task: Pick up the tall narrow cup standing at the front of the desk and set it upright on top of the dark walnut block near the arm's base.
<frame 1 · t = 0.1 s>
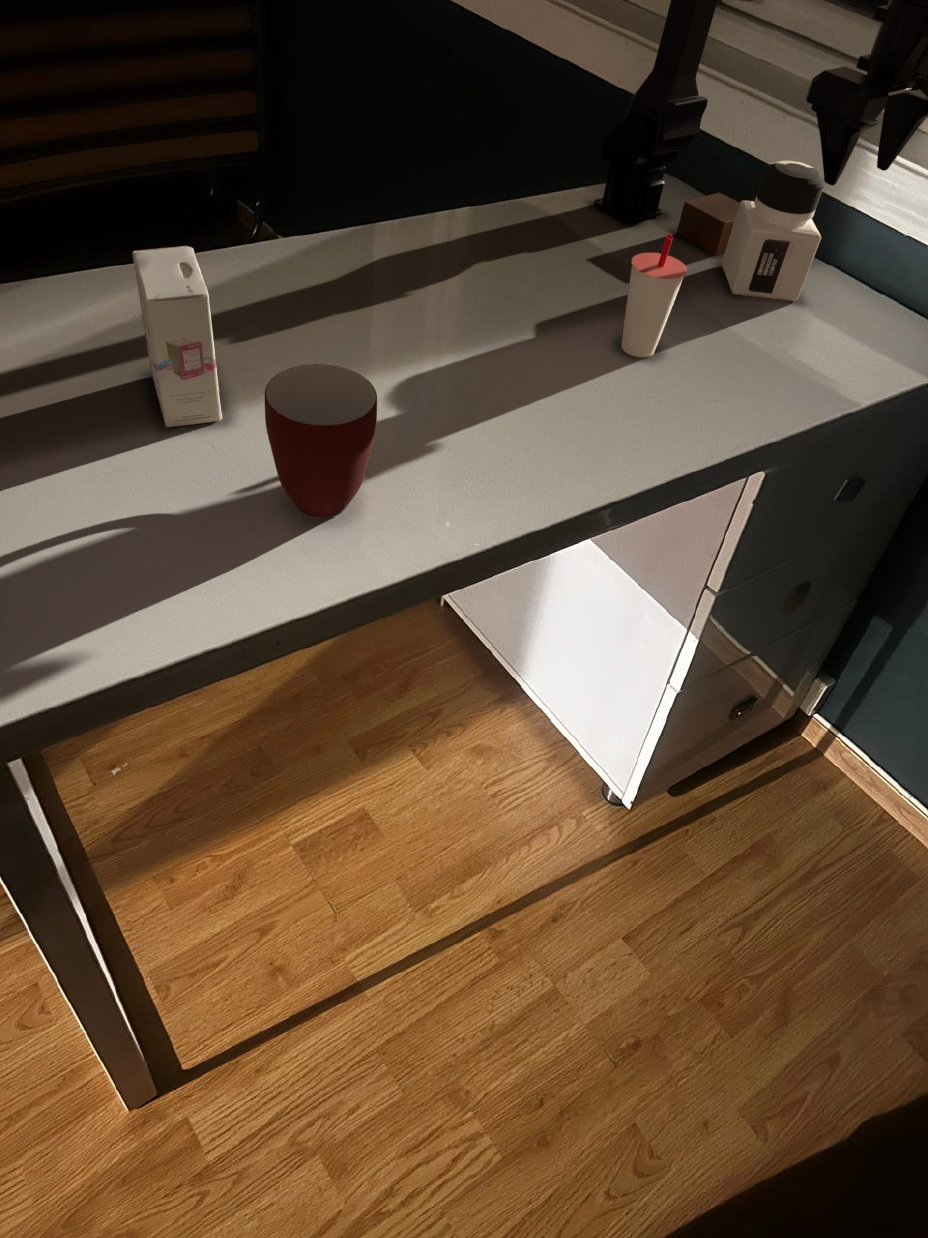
hand: (856, 176, 99), 15 cm above the table, tool pointing down, fingers open, 9 cm apart
cup: (637, 350, 100), on the table
walnut block: (712, 239, 120), on the table
container: (757, 284, 113), on the table
ink box: (185, 399, 85), on the table
mug: (310, 497, 78), on the table
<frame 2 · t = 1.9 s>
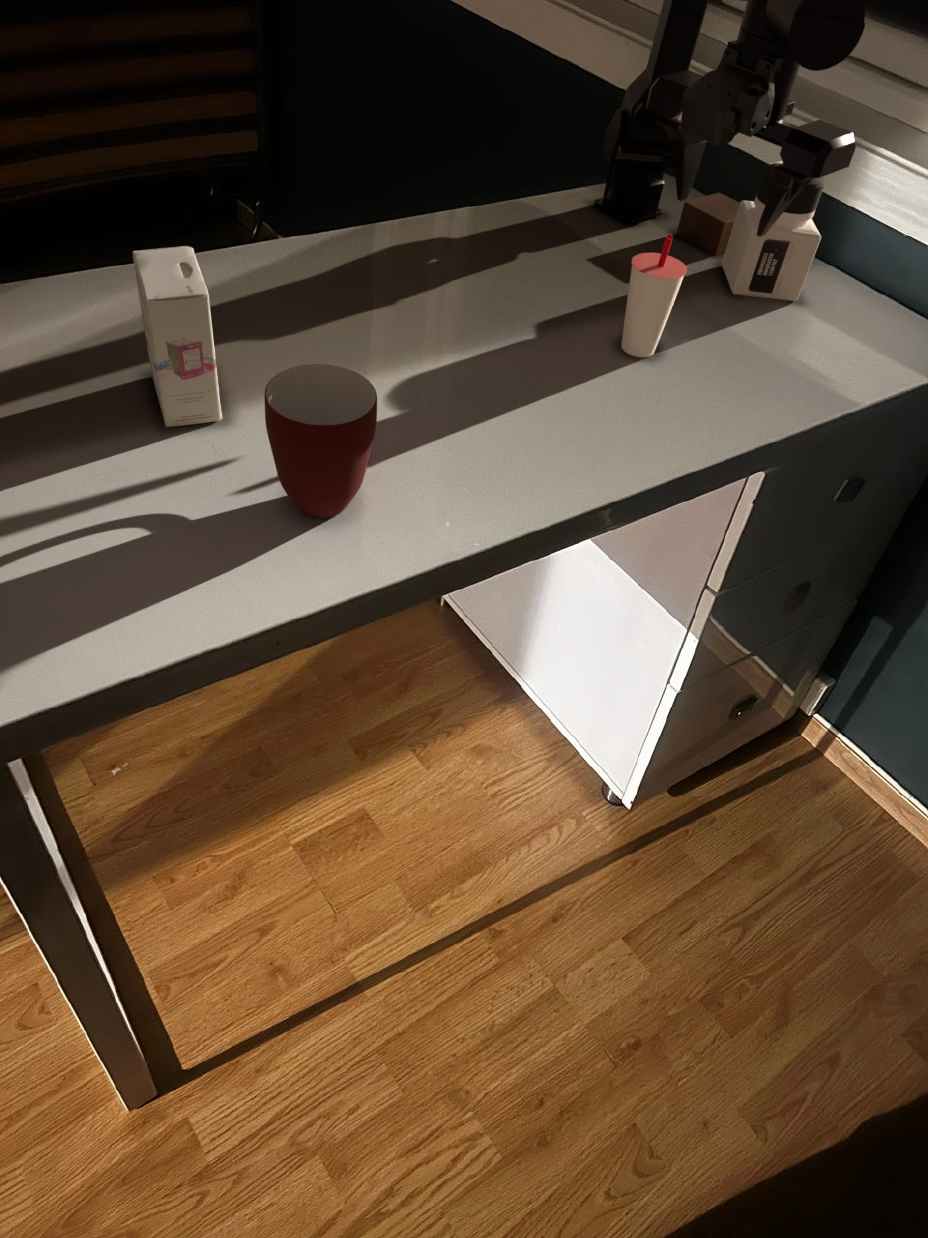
hand: (720, 216, 93), 13 cm above the table, tool pointing down, fingers open, 9 cm apart
nothing on the table moved.
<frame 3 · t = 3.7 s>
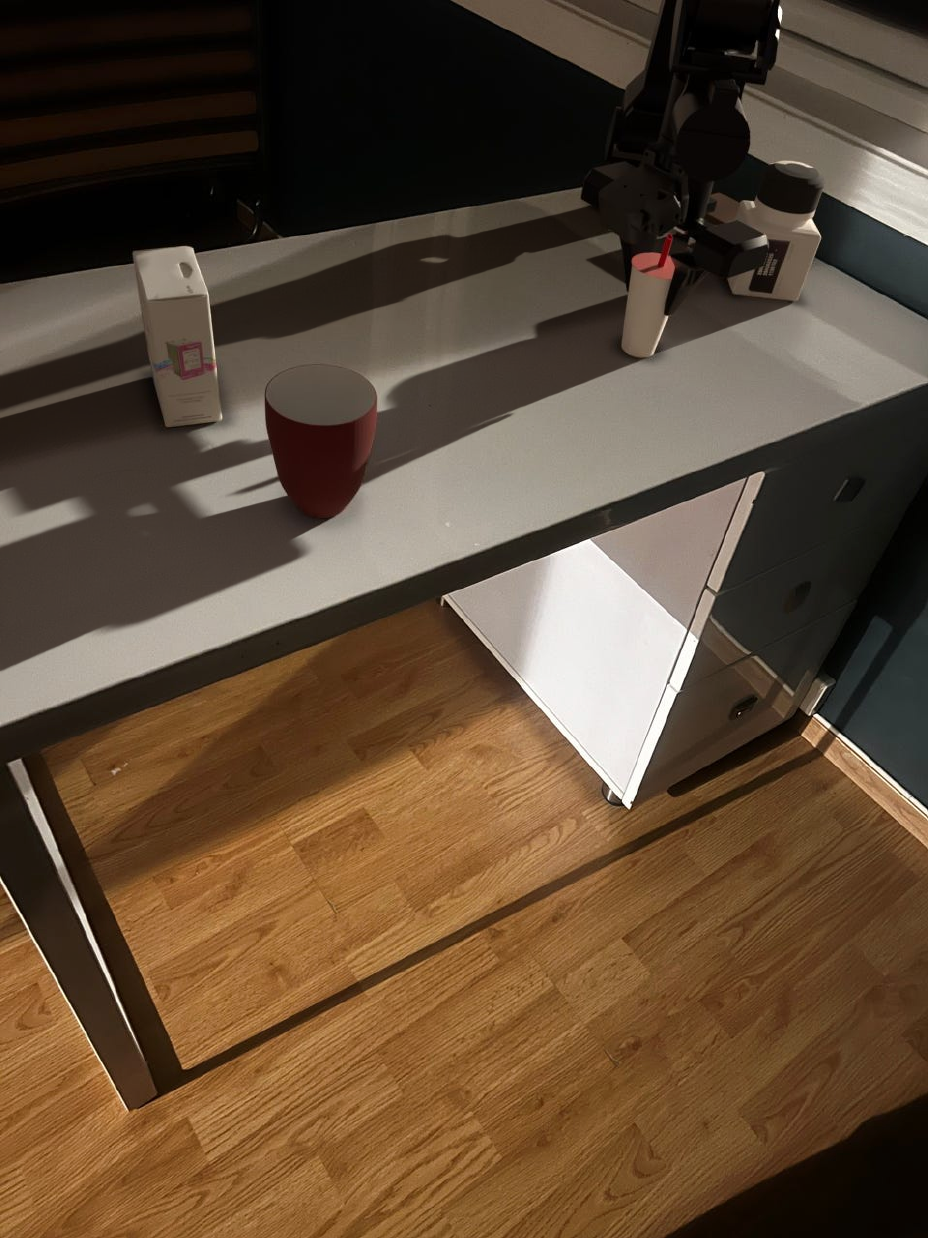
hand: (649, 302, 96), 5 cm above the table, tool pointing down, fingers closed on cup, 5 cm apart
cup: (637, 350, 100), on the table, touching gripper
everything else where it was.
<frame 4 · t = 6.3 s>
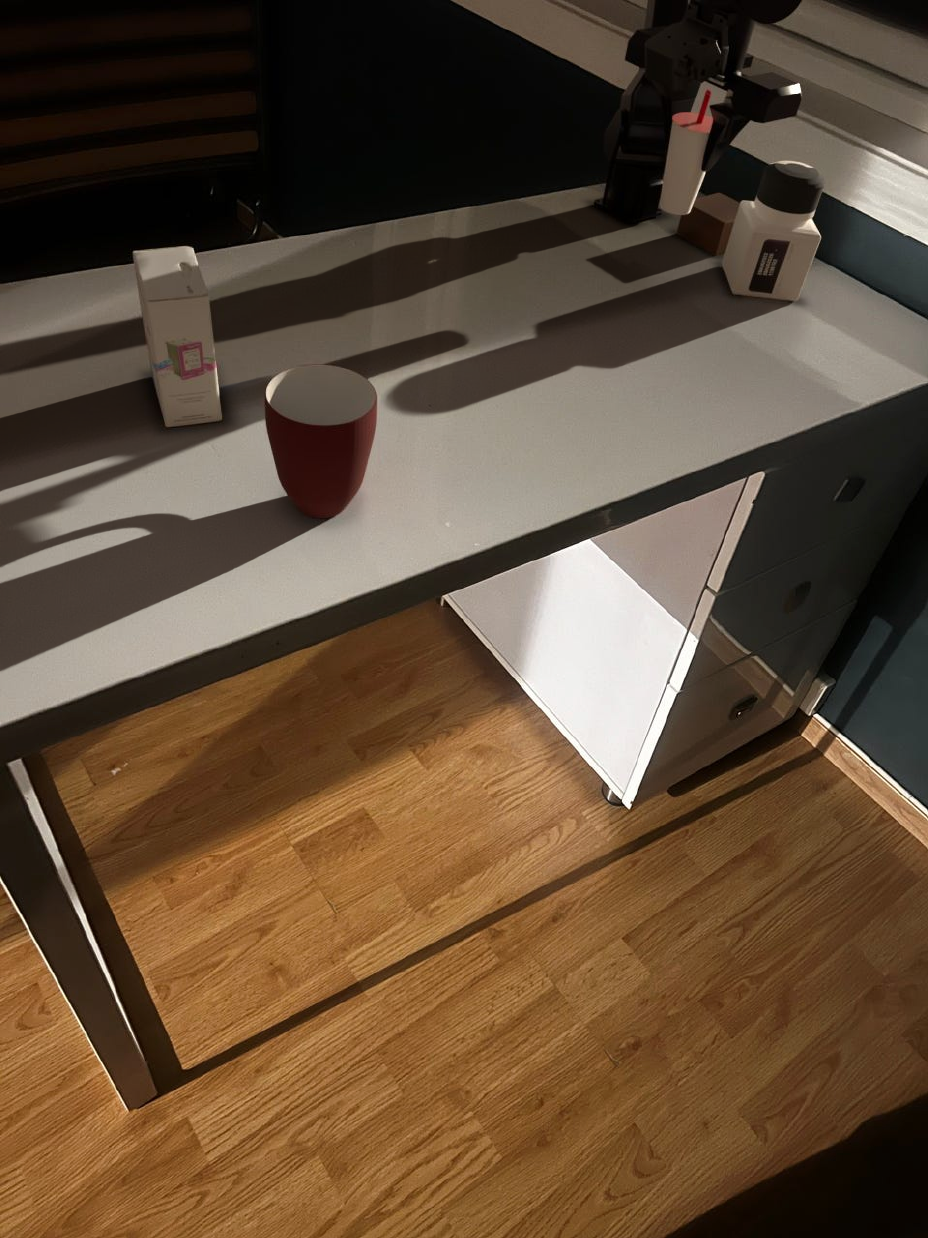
hand: (687, 161, 103), 13 cm above the table, tool pointing down, fingers closed on cup, 5 cm apart
cup: (674, 209, 106), point 8 cm above the table, touching gripper
everything else where it was.
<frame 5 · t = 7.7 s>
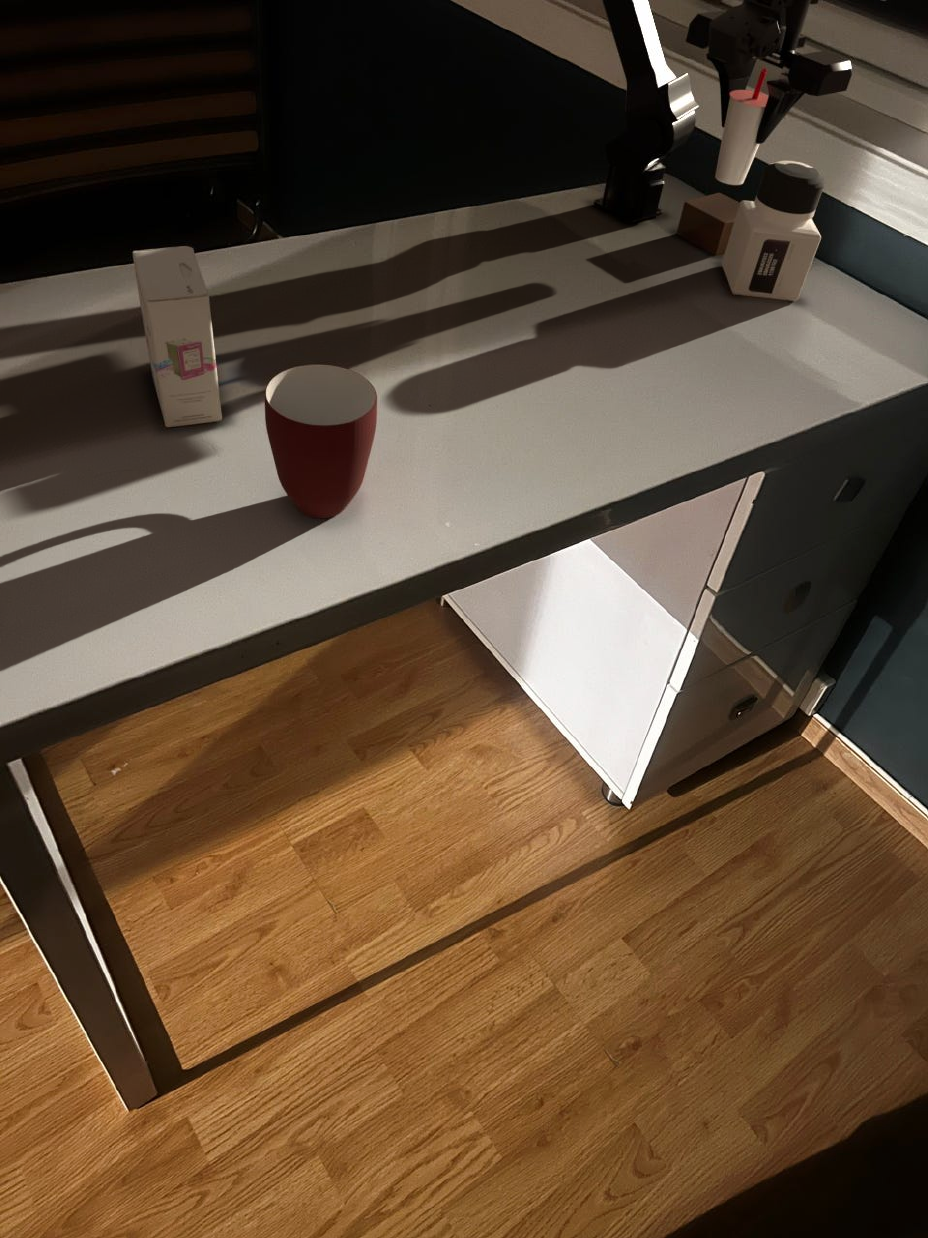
hand: (742, 134, 112), 12 cm above the table, tool pointing down, fingers closed on cup, 5 cm apart
cup: (728, 180, 115), point 7 cm above the table, touching gripper
everything else where it was.
when the fingers open (9 cm above the table, at t = 9.1 s): cup stays where it is, resting on walnut block.
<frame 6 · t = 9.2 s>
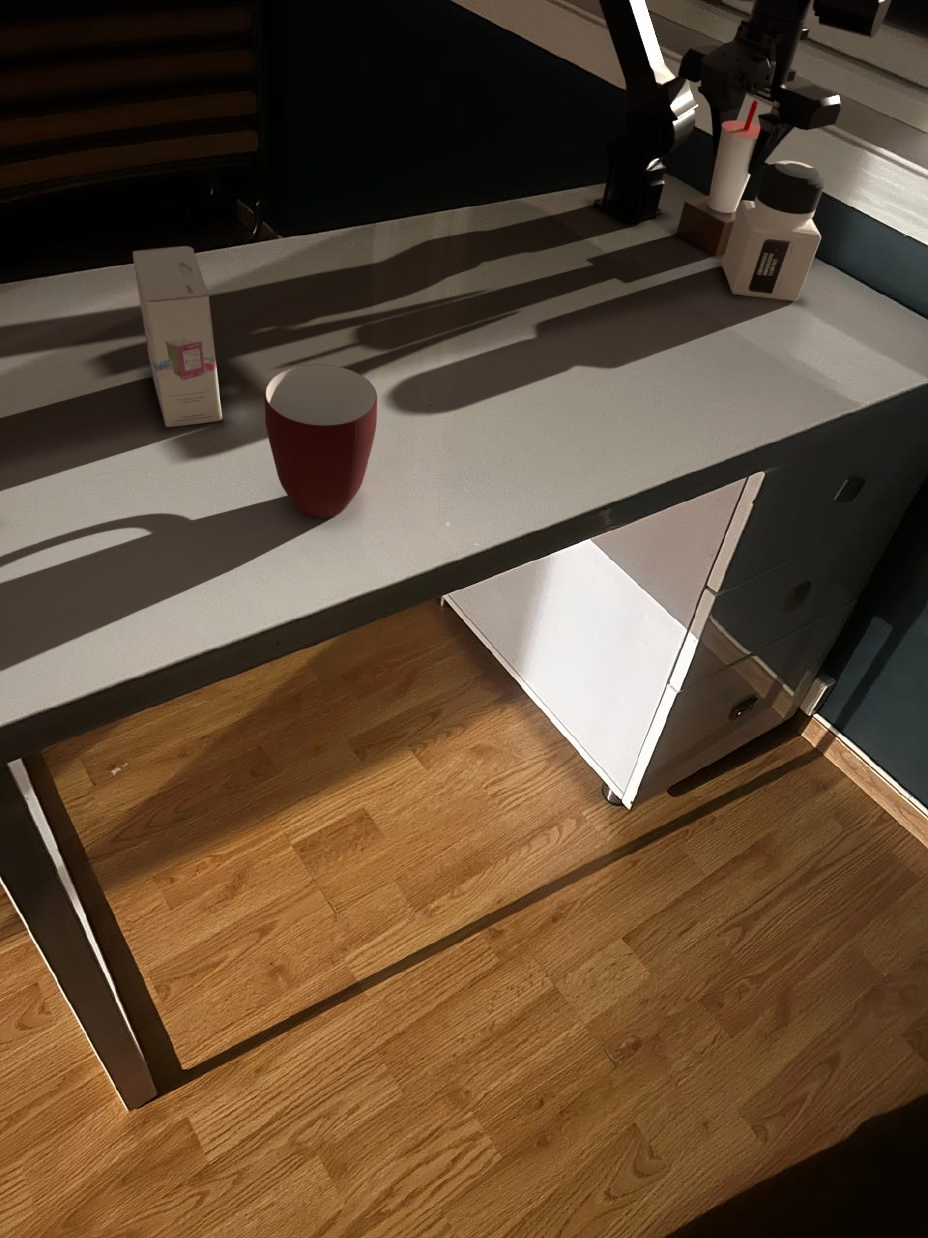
hand: (734, 165, 114), 9 cm above the table, tool pointing down, fingers open, 5 cm apart
cup: (721, 208, 118), point 4 cm above the table, touching walnut block
walnut block: (712, 239, 120), on the table, touching cup
everything else where it was.
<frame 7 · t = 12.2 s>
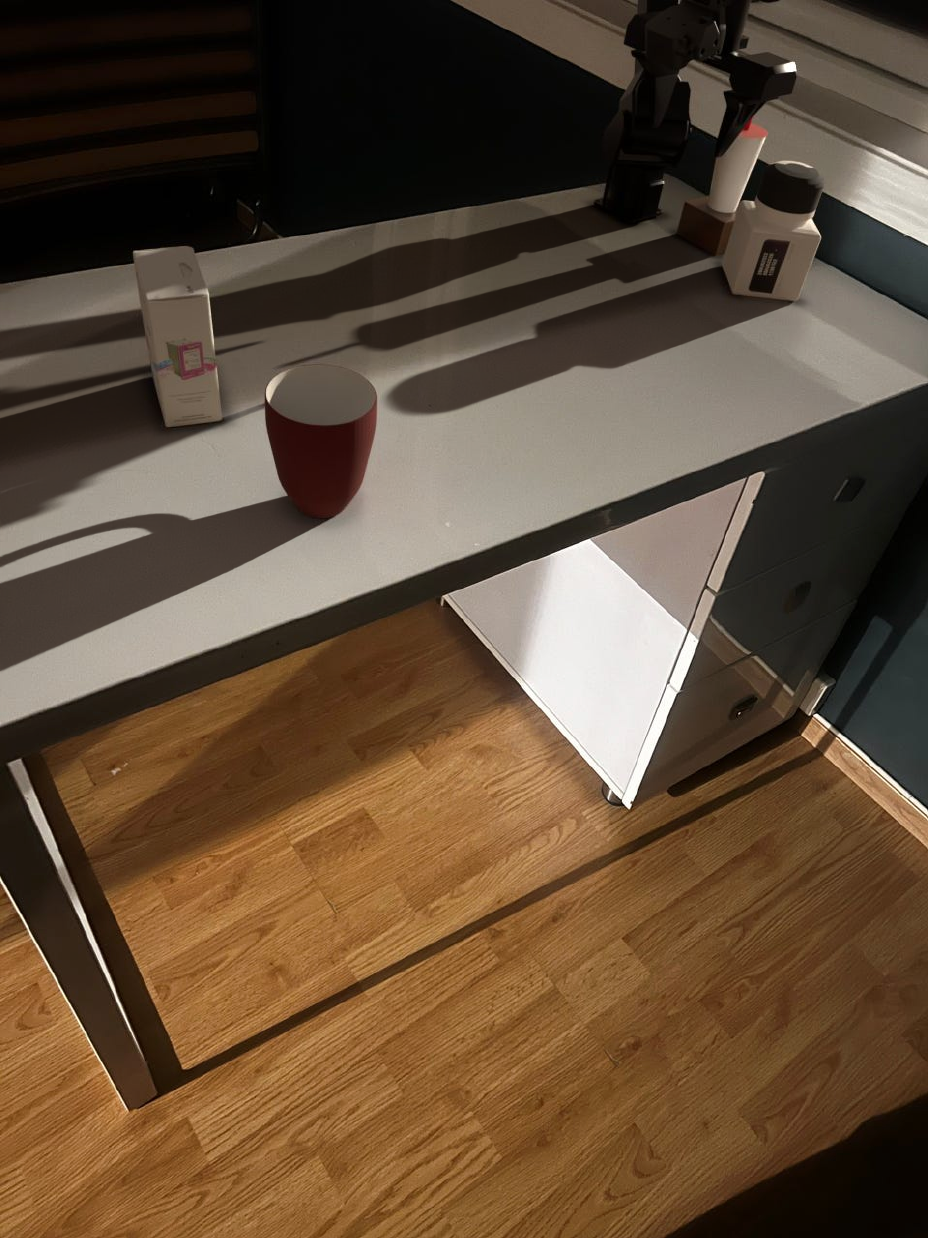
hand: (685, 141, 106), 13 cm above the table, tool pointing down, fingers open, 9 cm apart
nothing on the table moved.
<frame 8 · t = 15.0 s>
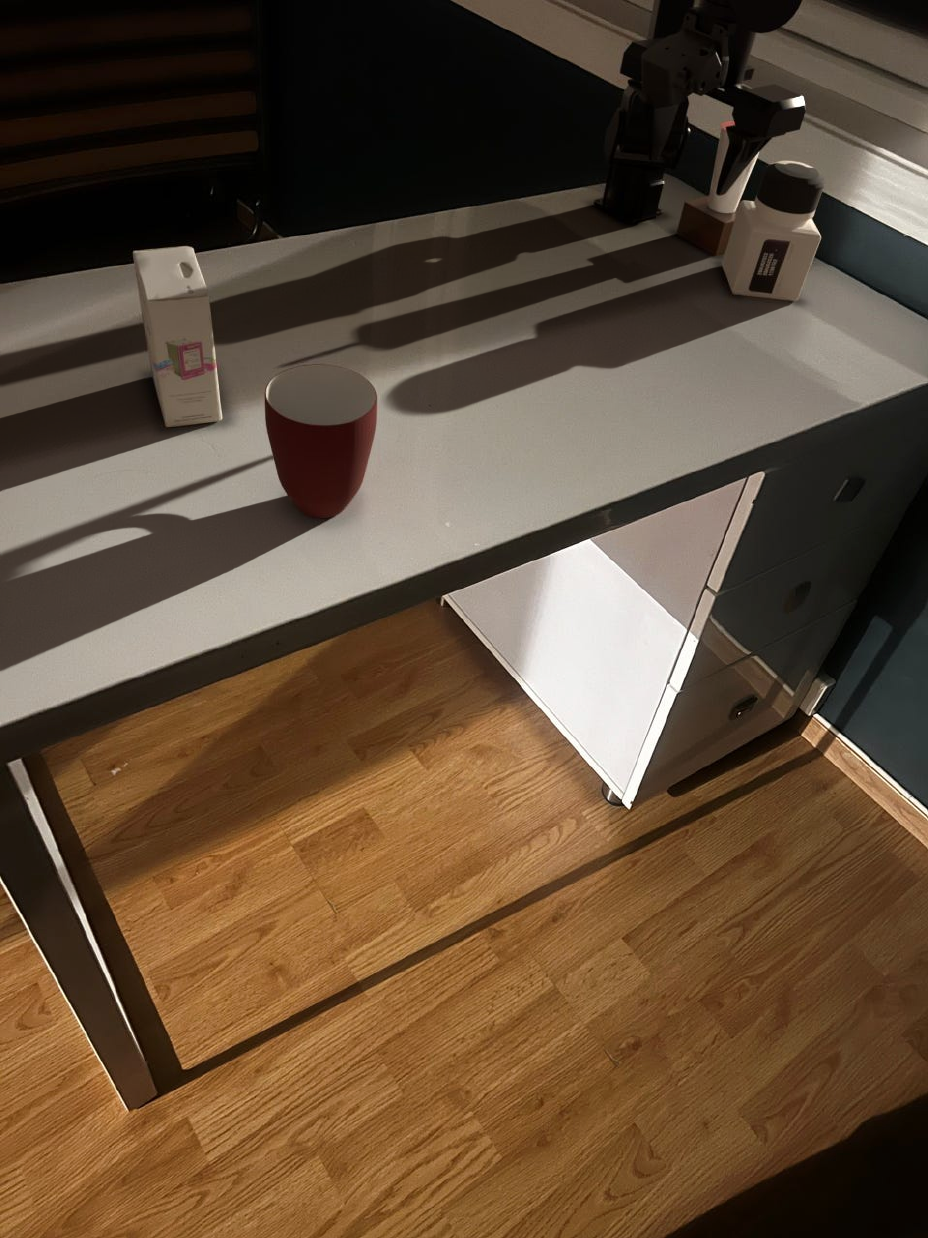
hand: (686, 176, 99), 13 cm above the table, tool pointing down, fingers open, 9 cm apart
nothing on the table moved.
at the end: cup 0.1 cm off-centre on the walnut block, point 3.8 cm above the walnut block's base; cup tilted 0° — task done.
